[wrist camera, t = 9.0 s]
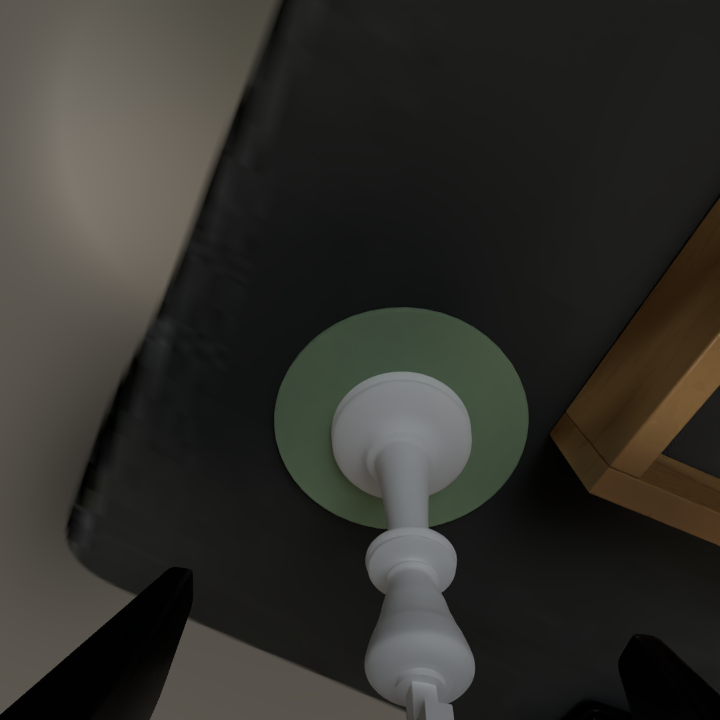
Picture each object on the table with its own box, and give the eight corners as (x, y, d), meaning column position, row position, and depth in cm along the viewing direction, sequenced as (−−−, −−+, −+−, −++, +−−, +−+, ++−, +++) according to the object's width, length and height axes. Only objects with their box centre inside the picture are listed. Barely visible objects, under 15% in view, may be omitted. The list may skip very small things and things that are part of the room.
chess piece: (489, 387, 14) (688, 758, 5) (448, 501, 16) (538, 924, 7) (345, 357, 14) (279, 683, 5) (320, 476, 16) (238, 874, 7)
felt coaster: (450, 551, 18) (451, 559, 17) (245, 475, 17) (241, 481, 16) (577, 370, 14) (582, 375, 14) (330, 261, 13) (329, 264, 13)
